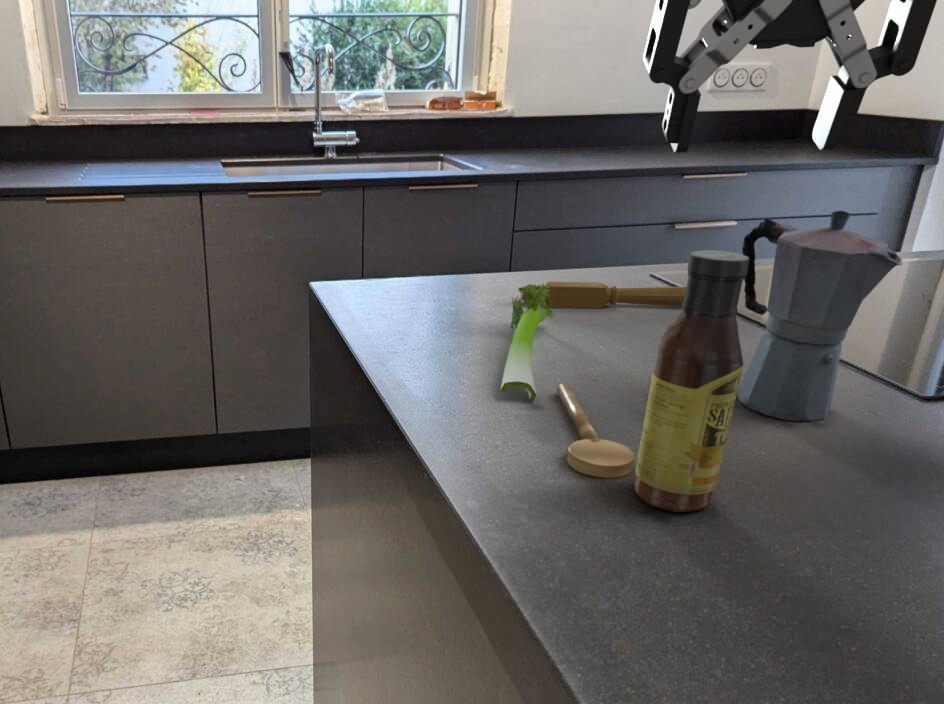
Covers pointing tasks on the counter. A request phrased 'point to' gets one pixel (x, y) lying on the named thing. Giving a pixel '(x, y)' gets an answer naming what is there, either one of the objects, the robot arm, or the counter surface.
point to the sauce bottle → (693, 388)
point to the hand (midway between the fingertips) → (749, 145)
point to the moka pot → (807, 313)
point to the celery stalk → (524, 339)
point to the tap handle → (606, 295)
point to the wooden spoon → (593, 444)
